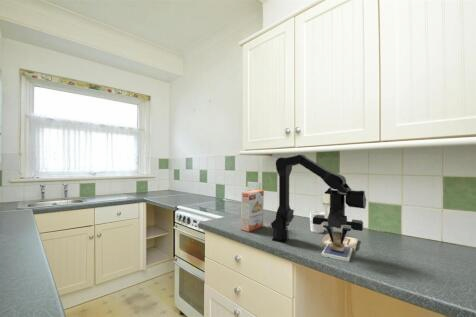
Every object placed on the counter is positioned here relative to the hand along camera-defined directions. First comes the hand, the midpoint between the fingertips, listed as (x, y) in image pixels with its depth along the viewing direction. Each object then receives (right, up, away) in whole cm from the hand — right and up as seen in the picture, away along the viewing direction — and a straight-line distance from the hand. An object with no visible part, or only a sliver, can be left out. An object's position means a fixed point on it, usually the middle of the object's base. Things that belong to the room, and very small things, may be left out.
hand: (337, 243), depth 95 cm
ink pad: (0, -4, 0) cm, 4 cm away
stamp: (0, -2, 0) cm, 2 cm away
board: (+7, -4, +12) cm, 15 cm away
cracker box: (-33, -5, +34) cm, 48 cm away
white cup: (+2, -4, +29) cm, 30 cm away
